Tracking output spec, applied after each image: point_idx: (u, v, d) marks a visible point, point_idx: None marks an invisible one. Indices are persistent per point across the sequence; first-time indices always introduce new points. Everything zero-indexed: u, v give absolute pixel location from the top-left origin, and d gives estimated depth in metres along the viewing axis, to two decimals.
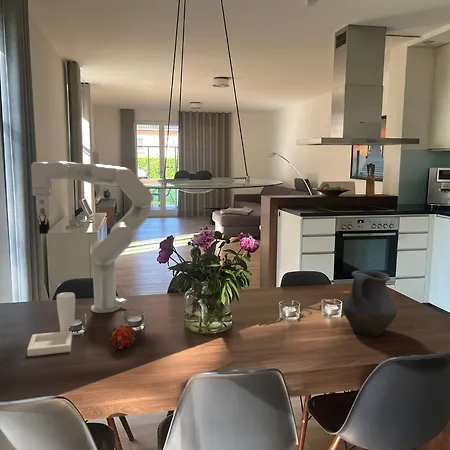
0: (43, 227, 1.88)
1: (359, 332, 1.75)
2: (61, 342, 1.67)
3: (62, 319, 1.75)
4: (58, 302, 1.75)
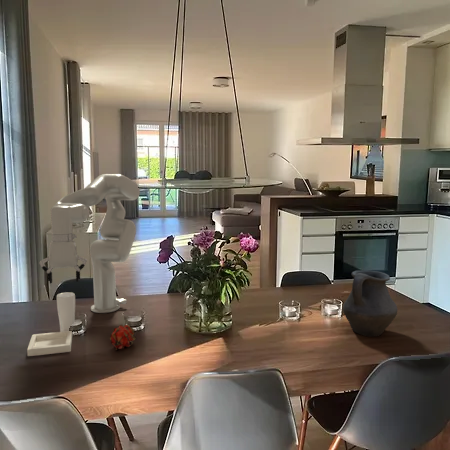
0: (79, 273, 1.77)
1: (359, 332, 1.75)
2: (61, 342, 1.67)
3: (62, 319, 1.75)
4: (58, 302, 1.75)
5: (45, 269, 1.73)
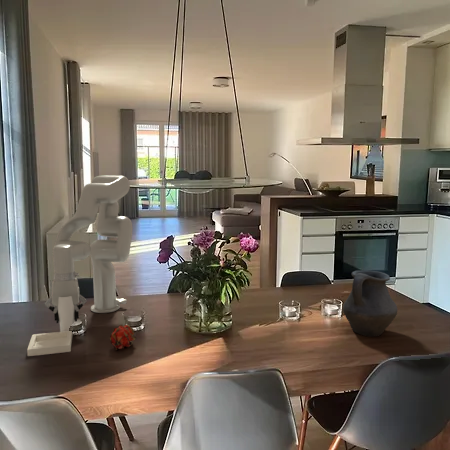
0: (78, 313, 1.79)
1: (359, 332, 1.75)
2: (61, 342, 1.67)
3: (62, 319, 1.75)
4: (58, 302, 1.75)
5: (52, 309, 1.76)
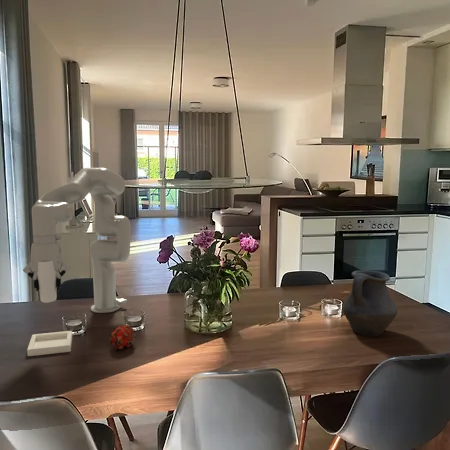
0: (60, 280, 1.63)
1: (359, 332, 1.75)
2: (61, 342, 1.67)
3: (42, 287, 1.59)
4: (38, 267, 1.58)
5: (31, 276, 1.59)
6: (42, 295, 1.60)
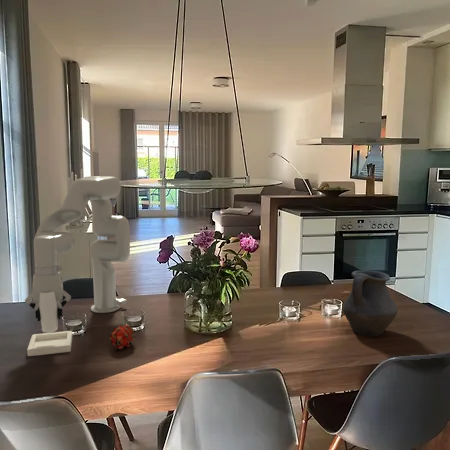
0: (61, 310, 1.65)
1: (359, 332, 1.75)
2: (61, 342, 1.67)
3: (44, 317, 1.61)
4: None
5: (33, 306, 1.61)
6: (43, 325, 1.62)
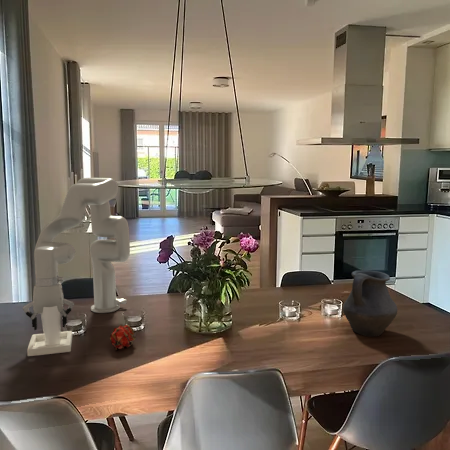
0: (66, 318, 1.66)
1: (359, 332, 1.75)
2: (61, 342, 1.67)
3: (47, 331, 1.62)
4: None
5: (29, 315, 1.61)
6: (46, 339, 1.63)
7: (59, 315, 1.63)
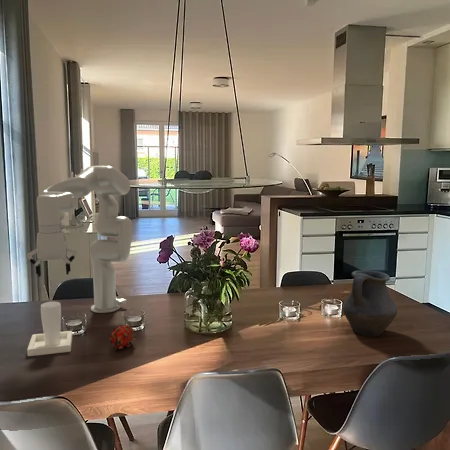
0: None
1: (359, 332, 1.75)
2: (61, 342, 1.67)
3: (47, 331, 1.62)
4: (42, 312, 1.61)
5: (33, 262, 1.64)
6: (46, 339, 1.63)
7: (59, 315, 1.63)
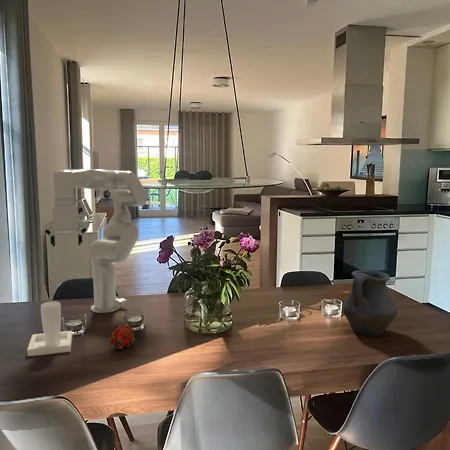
0: (81, 237, 1.81)
1: (359, 332, 1.75)
2: (61, 342, 1.67)
3: (47, 331, 1.62)
4: (42, 312, 1.61)
5: (48, 232, 1.77)
6: (46, 339, 1.63)
7: (59, 315, 1.63)
